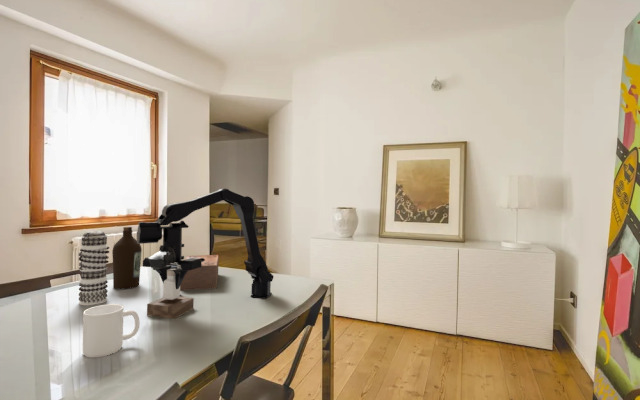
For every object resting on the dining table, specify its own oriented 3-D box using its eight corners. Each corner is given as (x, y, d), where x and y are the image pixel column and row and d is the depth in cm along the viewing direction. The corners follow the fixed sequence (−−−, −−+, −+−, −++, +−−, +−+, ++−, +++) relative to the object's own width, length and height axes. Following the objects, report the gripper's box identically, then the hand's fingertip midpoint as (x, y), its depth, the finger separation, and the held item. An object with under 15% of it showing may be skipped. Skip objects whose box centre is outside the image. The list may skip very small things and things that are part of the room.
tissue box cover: (187, 276, 161) (187, 255, 161) (218, 275, 165) (218, 254, 165) (179, 290, 136) (179, 266, 136) (216, 288, 140) (216, 265, 140)
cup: (83, 347, 83) (83, 307, 83) (137, 337, 90) (138, 300, 90) (81, 361, 76) (82, 317, 76) (140, 349, 83) (141, 308, 83)
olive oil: (107, 290, 133) (108, 228, 133) (117, 283, 144) (118, 226, 143) (136, 289, 135) (137, 228, 135) (144, 282, 146) (145, 226, 146)
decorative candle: (111, 301, 119) (113, 232, 119) (80, 307, 112) (82, 233, 112) (104, 296, 125) (105, 230, 125) (74, 301, 119) (76, 231, 118)
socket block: (193, 309, 114) (193, 297, 114) (173, 319, 104) (174, 306, 104) (168, 306, 116) (168, 295, 116) (146, 316, 106) (147, 303, 106)
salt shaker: (180, 297, 112) (181, 268, 112) (172, 300, 108) (173, 271, 108) (170, 296, 113) (171, 268, 113) (162, 299, 109) (162, 270, 109)
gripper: (129, 243, 104) (129, 292, 105) (181, 246, 100) (180, 298, 100) (155, 239, 115) (154, 284, 115) (202, 241, 111) (202, 288, 111)
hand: (171, 288), depth 110 cm, fingers closed on salt shaker, 4 cm apart
